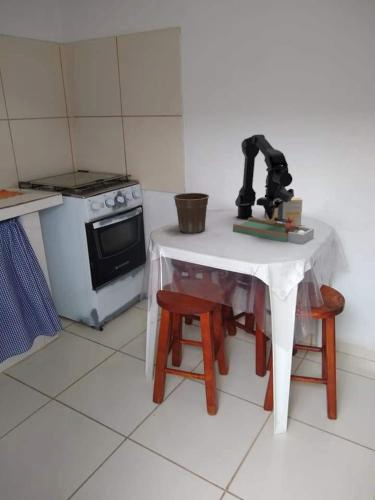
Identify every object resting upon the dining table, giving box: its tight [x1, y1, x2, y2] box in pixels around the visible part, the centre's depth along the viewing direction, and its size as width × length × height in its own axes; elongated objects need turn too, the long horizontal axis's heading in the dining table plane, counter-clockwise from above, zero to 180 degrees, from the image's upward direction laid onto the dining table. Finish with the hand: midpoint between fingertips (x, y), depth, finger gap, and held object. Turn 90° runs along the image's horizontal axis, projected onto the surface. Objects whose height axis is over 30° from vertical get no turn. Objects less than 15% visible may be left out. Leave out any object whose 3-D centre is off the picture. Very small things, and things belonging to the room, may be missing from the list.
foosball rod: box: [265, 207, 295, 233], centre depth 171 cm, size 12×5×9 cm, turn 50°
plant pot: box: [173, 192, 210, 234], centre depth 182 cm, size 16×16×16 cm
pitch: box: [232, 217, 315, 245], centre depth 175 cm, size 33×14×4 cm, turn 50°
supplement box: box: [281, 197, 303, 227], centre depth 185 cm, size 8×5×13 cm, turn 84°
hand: (272, 218), depth 174 cm, fingers closed on foosball rod, 3 cm apart
